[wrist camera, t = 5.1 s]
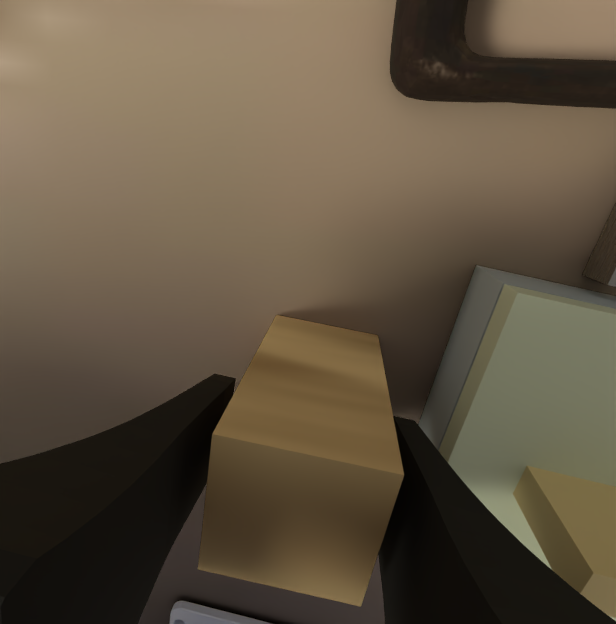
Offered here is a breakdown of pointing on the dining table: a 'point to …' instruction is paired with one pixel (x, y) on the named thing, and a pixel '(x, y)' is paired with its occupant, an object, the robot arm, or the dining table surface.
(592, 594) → the lid
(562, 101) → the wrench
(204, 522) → the wooden block
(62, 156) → the dining table surface
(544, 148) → the dining table surface
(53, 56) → the dining table surface
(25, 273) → the dining table surface
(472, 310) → the shallow grey tray
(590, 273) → the keeper
